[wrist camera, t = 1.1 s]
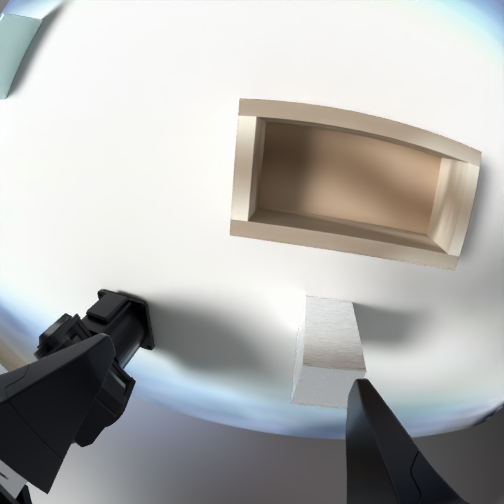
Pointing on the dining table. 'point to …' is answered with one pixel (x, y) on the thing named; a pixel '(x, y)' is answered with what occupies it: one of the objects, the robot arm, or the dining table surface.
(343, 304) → the light grey rectangular block
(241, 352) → the dining table surface
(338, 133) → the beige tray
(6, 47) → the l-shaped corner panel
